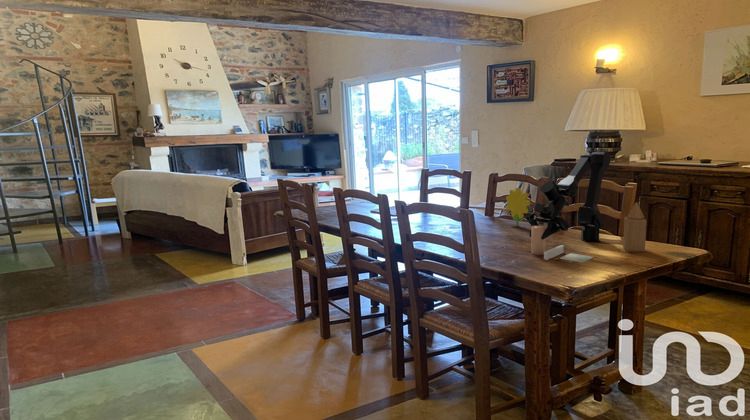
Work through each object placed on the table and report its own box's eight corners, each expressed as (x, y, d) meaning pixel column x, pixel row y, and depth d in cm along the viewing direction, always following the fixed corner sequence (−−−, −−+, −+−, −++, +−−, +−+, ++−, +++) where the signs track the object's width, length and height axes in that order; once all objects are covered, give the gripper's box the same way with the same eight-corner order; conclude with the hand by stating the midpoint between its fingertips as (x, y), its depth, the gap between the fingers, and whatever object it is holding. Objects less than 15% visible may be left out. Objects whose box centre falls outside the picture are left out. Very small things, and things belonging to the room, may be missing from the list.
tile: (570, 254, 195) (570, 253, 195) (593, 257, 189) (593, 256, 189) (559, 258, 189) (559, 257, 189) (582, 262, 183) (582, 261, 183)
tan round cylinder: (543, 251, 201) (543, 225, 200) (546, 254, 196) (547, 227, 194) (529, 251, 202) (530, 225, 200) (532, 254, 197) (533, 228, 195)
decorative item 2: (645, 252, 194) (648, 202, 191) (627, 252, 195) (629, 202, 192) (639, 248, 200) (642, 200, 197) (622, 248, 202) (624, 200, 198)
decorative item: (530, 227, 247) (530, 188, 244) (528, 228, 246) (528, 189, 243) (507, 223, 260) (507, 186, 257) (505, 223, 260) (506, 186, 256)
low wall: (560, 252, 199) (560, 245, 198) (563, 252, 198) (563, 245, 197) (543, 259, 189) (544, 251, 189) (546, 259, 188) (546, 252, 188)
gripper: (527, 193, 205) (508, 222, 201) (565, 197, 189) (545, 229, 185) (539, 209, 210) (521, 238, 207) (577, 215, 195) (558, 246, 191)
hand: (536, 237), depth 197 cm, fingers closed on tan round cylinder, 5 cm apart
